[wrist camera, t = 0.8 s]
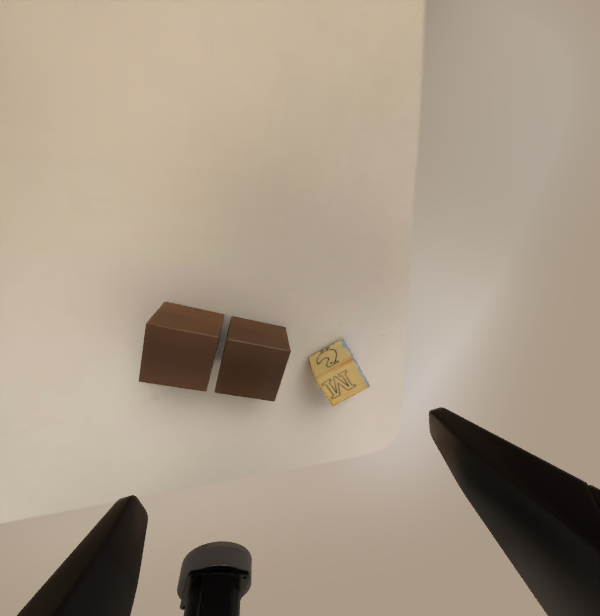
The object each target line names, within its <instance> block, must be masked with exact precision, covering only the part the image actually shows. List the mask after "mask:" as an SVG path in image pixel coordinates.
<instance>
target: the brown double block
mask: <svg viewBox="0 0 600 616" xmlns="http://www.w3.org/2000/svg"><path fill="white" fill-rule="evenodd" d="M223 319H224V314H220V313H215V312H210V311H206V310H201V309H196V308H192V307H187V306H182V305H177V304H173V303H168V302H164V303H163V304H162V306H161V307H160V308H159V309H158V310H157V311H156V313H155V314H154V315H153V316H152V317H151V318H150V320H149V321H148V322H147V323H146V329H145V337H144V345H143V353H142V360H141V368H140V376H139V382H146V383H152V384H159V385H166V386H173V387H179V388H186V389H193V390H199V391H207V387H208V383H209V379H210V375H211V371H212V367H213V363H214V359H215V355H216V350H217V346H218V341H219V337H220V333H221V328H222V324H223ZM290 352H291V351H290V346H289V342H288V337H287V332H286V328H285V327H280V326H276V325H271V324H266V323H261V322H257V321H252V320H247V319H243V318H238V317H233V316H232V317H231V321H230V325H229V330H228V334H227V338H226V342H225V347H224V351H223V355H222V360H221V364H220V369H219V373H218V378H217V382H216V387H215V393H221V394H228V395H235V396H241V397H248V398H255V399H262V400H268V401H275V398H276V395H277V392H278V389H279V386H280V383H281V380H282V377H283V373H284V370H285V367H286V364H287V361H288V358H289V355H290Z"/></svg>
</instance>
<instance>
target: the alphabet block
mask: <svg viewBox="0 0 600 616" xmlns="http://www.w3.org/2000/svg"><path fill="white" fill-rule="evenodd" d="M309 361H310V365H311V368H312V371H313V375H314V378H315V380H316V382H317V384H318V385H319V386H320V388H321V389H322V391H323V392H324V394H325V395H326V397H327V398H328V399H329V401H330V402H331V404H332V405H333V406H334V405H336V404H338V403H340V402H342V401H344V400H345V399H347V398H349V397H351V396H353V395H355V394H357V393H359V392H361V391H362V390H364V389H366V388H368V387H369V386H370V385H369V383H368V381H367V380H366V378H365V376H364V374H363V372H362V371H361V369H360V367H359V366H358V364H357V362H356V360H355V359H354V357H353V355H352V354H351V352H350V350H349V348H348V347H347V345H346V343H345V341H344V340H343V339H341V340H339V341H337V342H336V343H334V344H332V345H330V346H328V347H326V348H324V349H323V350H321V351H319V352H317V353H315V354H314V355H312V356H310V357H309Z"/></svg>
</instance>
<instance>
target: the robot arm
mask: <svg viewBox="0 0 600 616" xmlns="http://www.w3.org/2000/svg"><path fill="white" fill-rule="evenodd" d="M429 424H430V425H429V426H430V433H431V436H432V438H433V440H434V442H435V444H436V445H437V447H438V449H439V451H440V452H441V454H442V456H443V458H444V460H445V462H446V463H447V465H448V467H449V469H450V470H451V472H452V474H453V476H454V478H455V479H456V481H457V483H458V485H459V486H460V488H461V489H462V491H463V493H464V494H465V496H466V497H467V499H468V500H469V502H470V503H471V504H472V506H473V507H474V509H475V510H476V512H477V513H478V515H479V516H480V518H481V519H482V520H483V522H484V523H485V525H486V526H487V528H488V529H489V531H490V532H491V534H492V535H493V537H494V538H495V539H496V541H497V542H498V544H499V545H500V547H501V548H502V549H503V551H504V553H505V554H506V555H507V557H508V558H509V560H510V561H511V563H512V564H513V565H514V567H515V568H516V570H517V571H518V573H519V574H520V576H521V577H522V578H523V580H524V582H525V583H526V584H527V586H528V587H529V589H530V590H531V592H532V593H533V594H534V596H535V598H536V599H537V601H538V602H539V603H540V605H541V606H542V608H543V609H544V611H545V612H546V613H547V615H548V616H600V490H599V489H598V488H596V487H594V486H591V485H589V486H588V484H587V483H586V482H584V481H582V480H580V479H578V478H577V477H575V476H573V475H571V474H569V473H567V472H565V471H563V470H561V469H559V468H557V467H556V466H554V465H552V464H550V463H548V462H546V461H544V460H542V459H540V458H538V457H537V456H535V455H533V454H531V453H529V452H527V451H525V450H523V449H521V448H519V447H518V446H516V445H514V444H512V443H510V442H508V441H506V440H504V439H502V438H500V437H499V436H497V435H494V434H493V433H491V432H489V431H487V430H485V429H483V428H481V427H479V426H478V425H476V424H474V423H472V422H470V421H468V420H466V419H464V418H462V417H460V416H459V415H457V414H455V413H453V412H451V411H449V410H447V409H445V408H437V409H434V410H431V411H430V412H429ZM147 522H148V515H147V512H146V510H145V508H144V507H143V506H142V504H141V503H140V501H139V500H138V498H137V497H136V496H134V495H131V496H128V497H124V498H121V499H119V500H118V501H117V502H116V503H115V504H114V505H113V506H112V507H111V509H110V510H109V511H108V512H107V513H106V514H105V516H104V517H103V518H102V519H101V520H100V521H99V522H98V523H97V525H96V526H95V527H94V528H93V529H92V530H91V531H90V533H89V534H88V535H87V536H86V537H85V538H84V539H83V541H82V542H81V543H80V544H79V545H78V546H77V547H76V549H75V550H74V551H73V552H72V553H71V554H70V556H69V557H68V558H67V559H66V560H65V561H64V562H63V564H62V565H61V566H60V567H59V568H58V569H57V570H56V571H55V573H54V574H53V575H52V576H51V577H50V578H49V579H48V581H47V582H46V583H45V584H44V585H43V586H42V587H41V589H40V590H39V591H38V592H37V593H36V594H35V595H34V597H33V598H32V599H31V600H30V601H29V602H28V603H27V605H26V606H25V607H24V608H23V609H22V610H21V611H20V613H19V614H18V615H17V616H130V614H131V610H132V606H133V602H134V598H135V593H136V589H137V584H138V579H139V573H140V566H141V561H142V554H143V547H144V541H145V535H146V529H147ZM248 579H249V571H247V570H191V571H190V572H189V574H188V578H187V581H186V585H185V589H184V593H183V596H182V600H181V605H180V608H181V609H182V610H185V611H184V616H239V614H240V600H241V597H242V595H243V592H244V590H245V587H246V584H247V582H248Z"/></svg>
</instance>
